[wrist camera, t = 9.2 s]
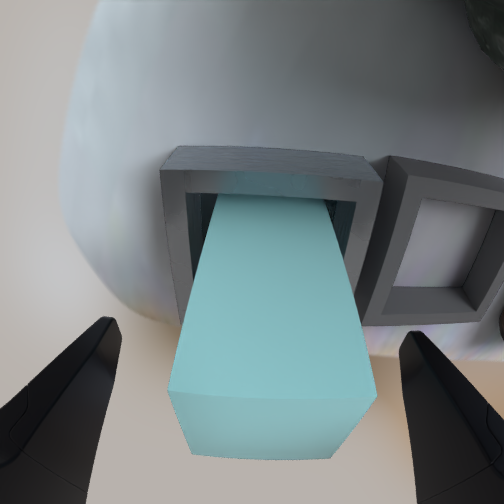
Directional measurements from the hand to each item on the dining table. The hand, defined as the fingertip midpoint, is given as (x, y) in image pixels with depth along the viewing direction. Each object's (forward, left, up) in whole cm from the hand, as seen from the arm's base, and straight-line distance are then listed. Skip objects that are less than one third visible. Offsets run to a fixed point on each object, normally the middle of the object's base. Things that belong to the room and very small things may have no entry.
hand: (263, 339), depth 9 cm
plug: (0, 0, -6) cm, 6 cm away
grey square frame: (-9, 0, -6) cm, 10 cm away
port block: (0, 0, -6) cm, 6 cm away
